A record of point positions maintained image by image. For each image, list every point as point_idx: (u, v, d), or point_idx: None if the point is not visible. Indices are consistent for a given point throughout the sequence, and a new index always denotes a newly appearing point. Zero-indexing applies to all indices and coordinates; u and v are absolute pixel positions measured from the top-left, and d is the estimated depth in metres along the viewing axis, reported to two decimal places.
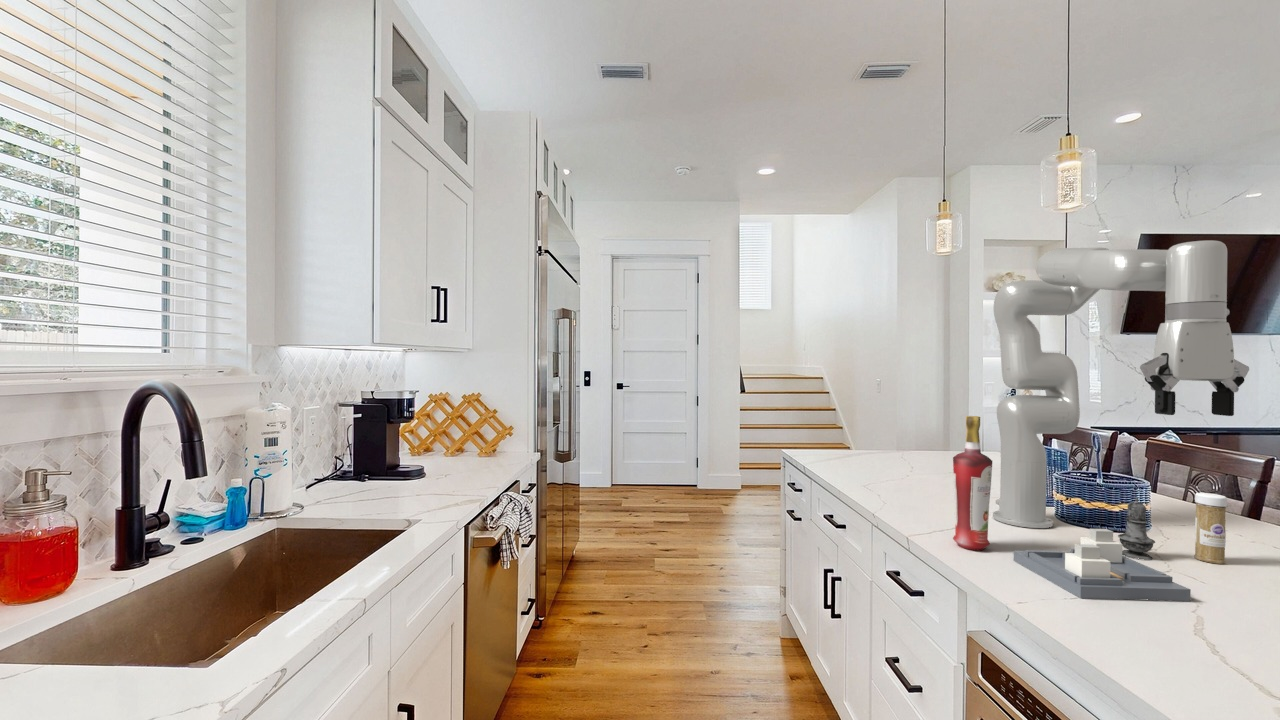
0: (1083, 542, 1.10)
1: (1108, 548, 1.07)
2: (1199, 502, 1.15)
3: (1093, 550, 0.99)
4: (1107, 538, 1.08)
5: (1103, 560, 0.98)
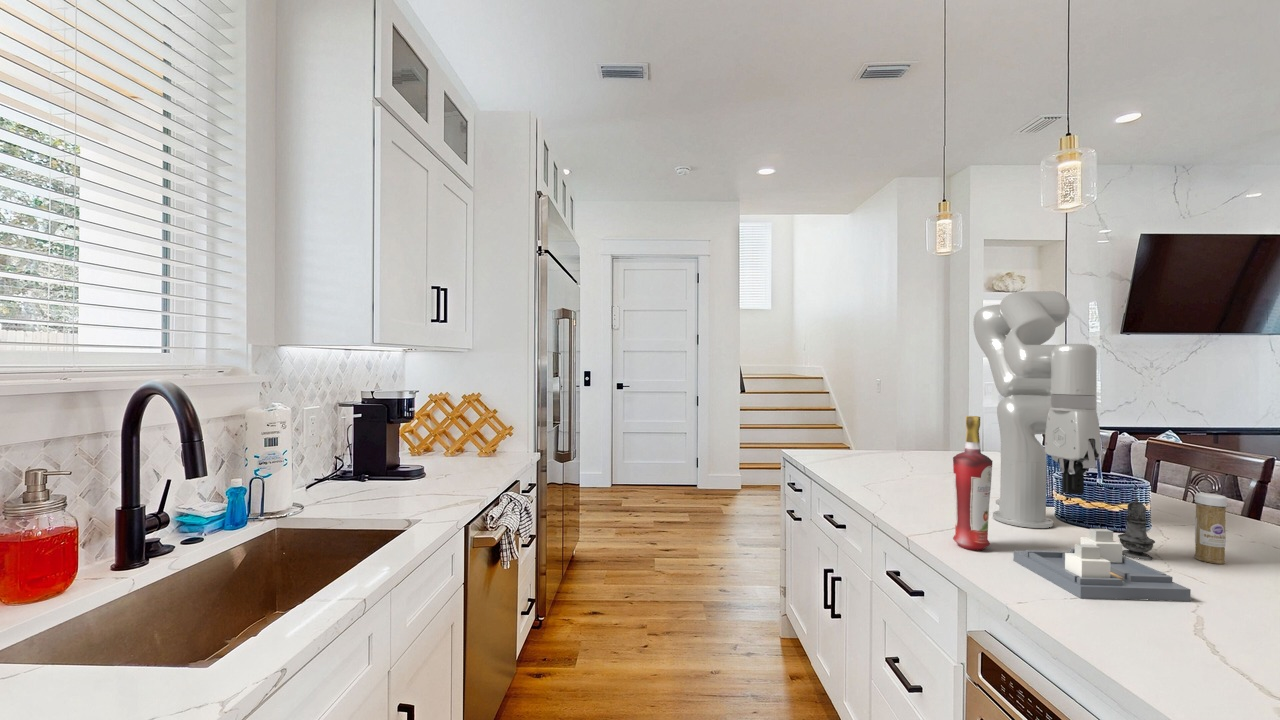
0: (1083, 542, 1.10)
1: (1108, 548, 1.07)
2: (1199, 502, 1.15)
3: (1093, 550, 0.99)
4: (1107, 538, 1.08)
5: (1103, 560, 0.98)
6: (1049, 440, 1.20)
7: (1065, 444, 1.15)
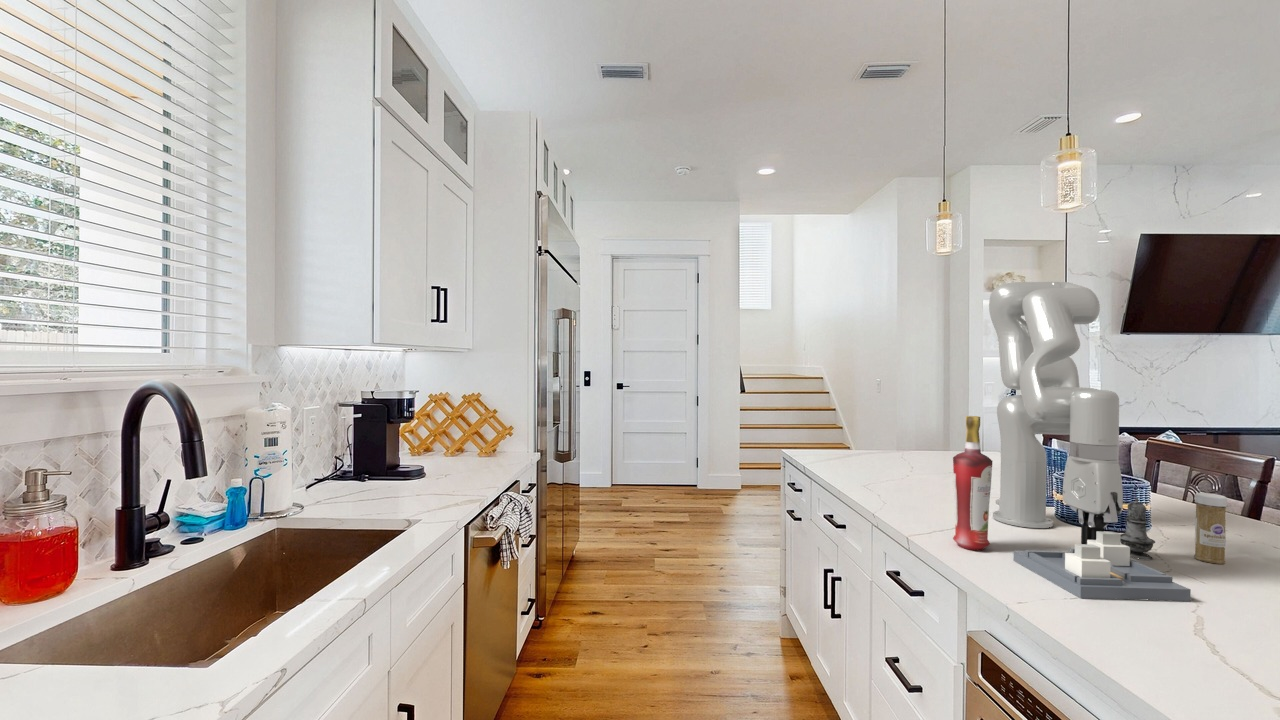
0: None
1: (1116, 551, 1.05)
2: (1199, 502, 1.15)
3: (1093, 550, 0.99)
4: (1115, 541, 1.07)
5: (1103, 560, 0.98)
6: (1067, 489, 1.14)
7: (1085, 496, 1.10)
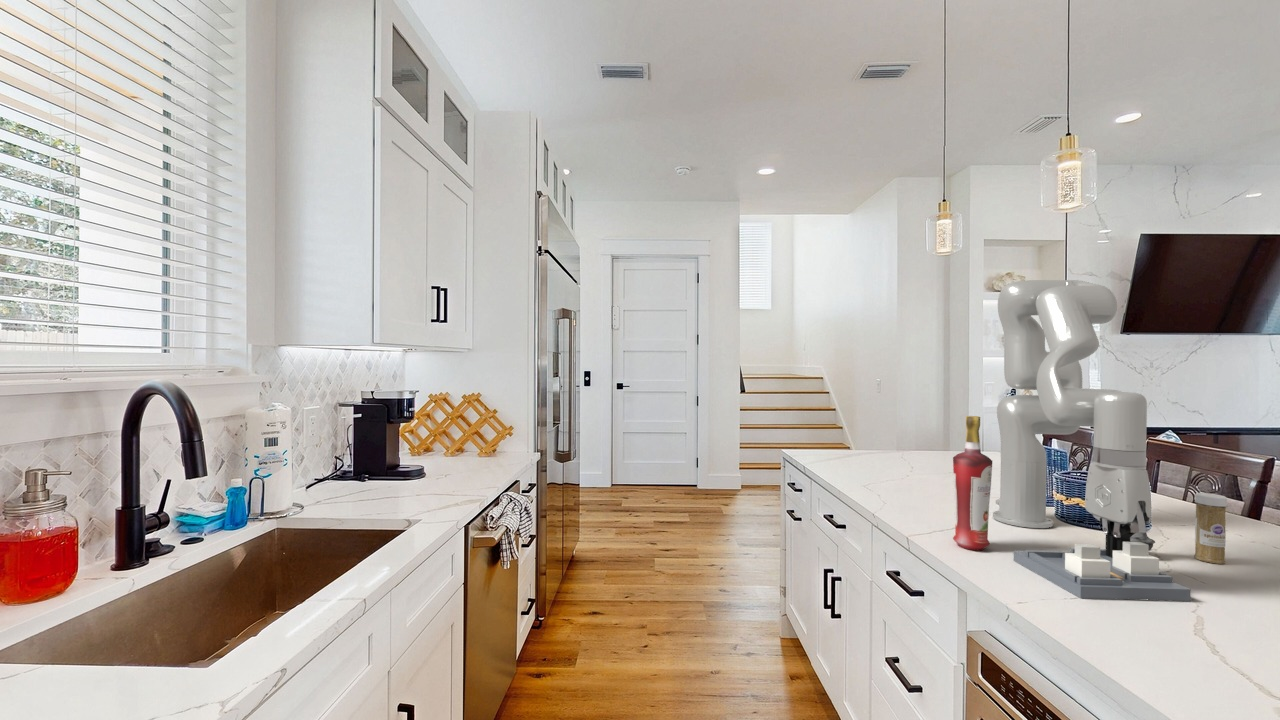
0: (1115, 556, 1.03)
1: (1144, 563, 0.99)
2: (1199, 502, 1.15)
3: (1093, 550, 0.99)
4: (1143, 552, 1.01)
5: (1103, 560, 0.98)
6: (1091, 497, 1.08)
7: (1110, 504, 1.04)
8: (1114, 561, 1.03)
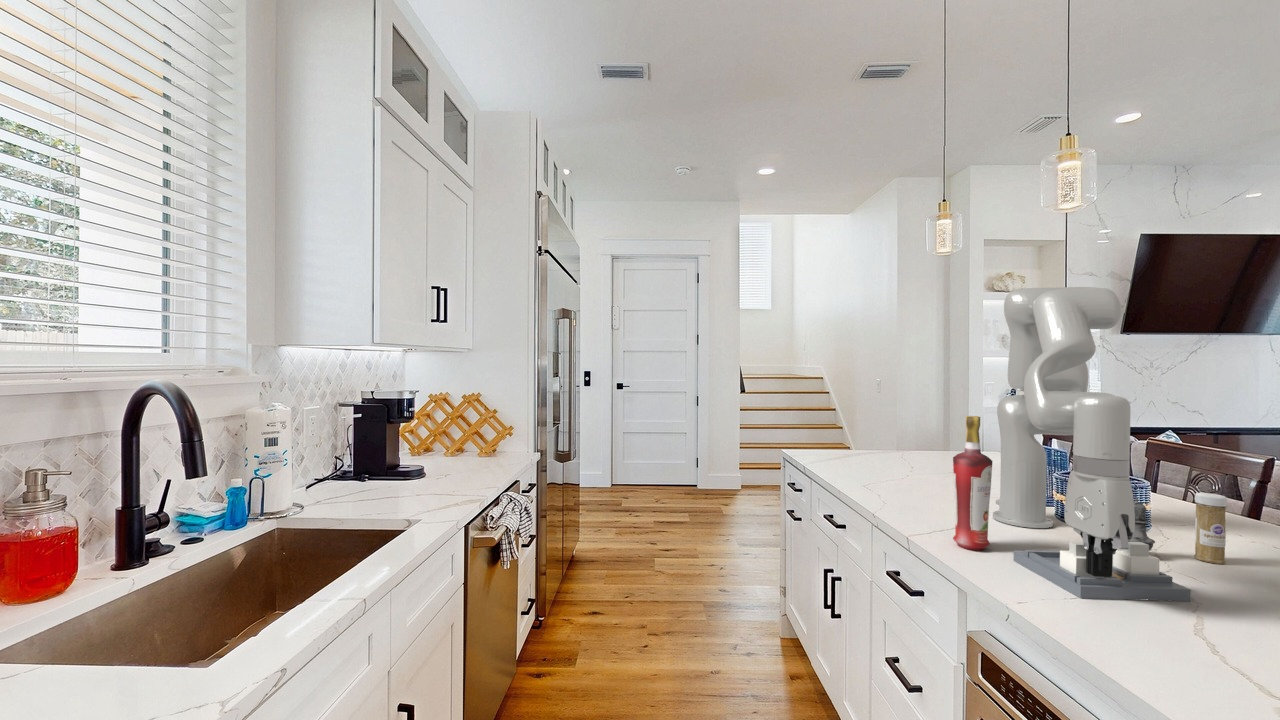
0: (1116, 556, 1.03)
1: (1144, 563, 0.99)
2: (1199, 502, 1.15)
3: None
4: (1143, 552, 1.00)
5: None
6: (1070, 509, 1.00)
7: (1091, 518, 0.95)
8: (1115, 562, 1.03)
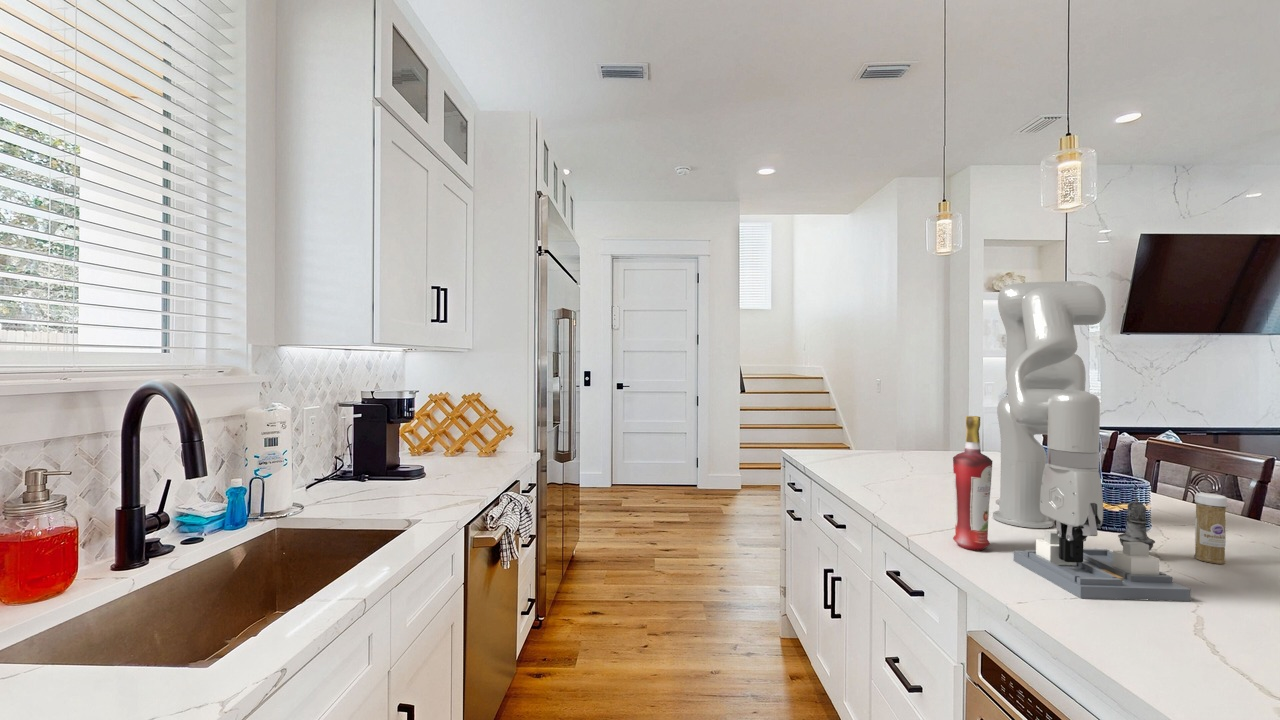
0: (1116, 556, 1.03)
1: (1144, 563, 0.99)
2: (1199, 502, 1.15)
3: None
4: (1143, 552, 1.00)
5: None
6: (1045, 499, 1.06)
7: (1063, 507, 1.02)
8: (1115, 562, 1.03)
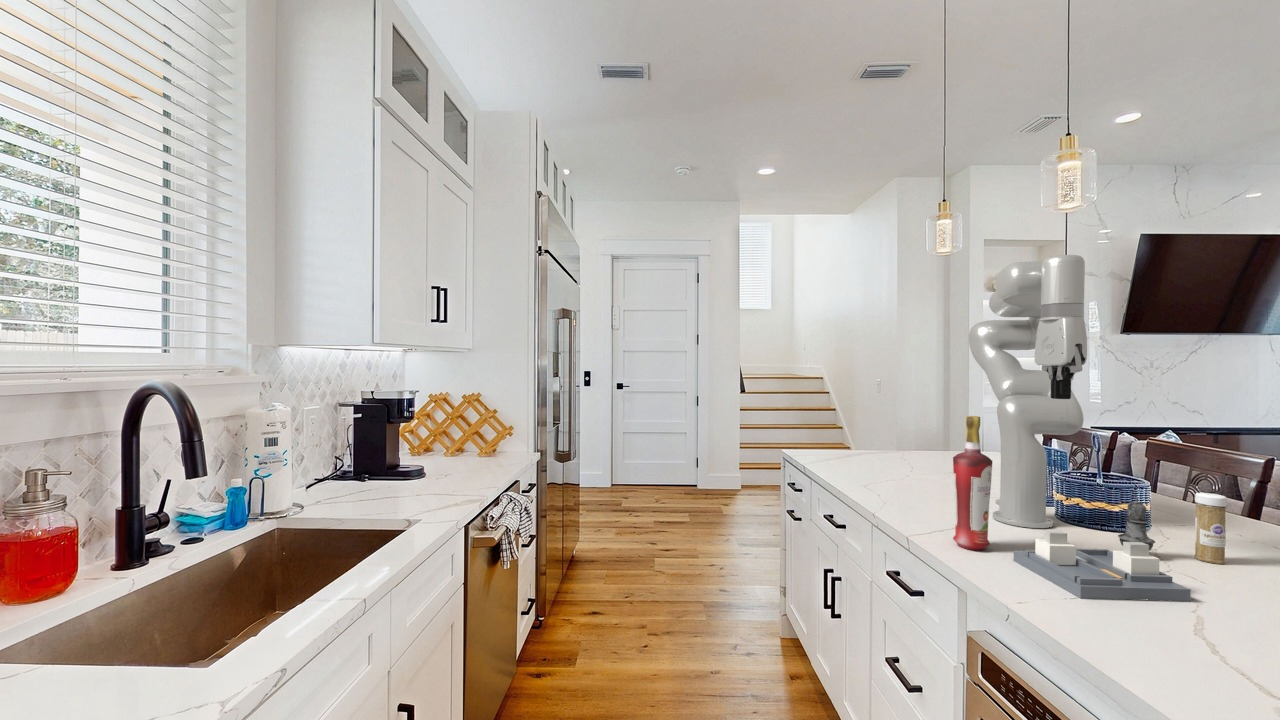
0: (1116, 556, 1.03)
1: (1144, 563, 0.99)
2: (1199, 502, 1.15)
3: (1060, 536, 1.07)
4: (1143, 552, 1.00)
5: (1069, 545, 1.06)
6: (1039, 350, 1.25)
7: (1053, 351, 1.20)
8: (1115, 562, 1.03)
